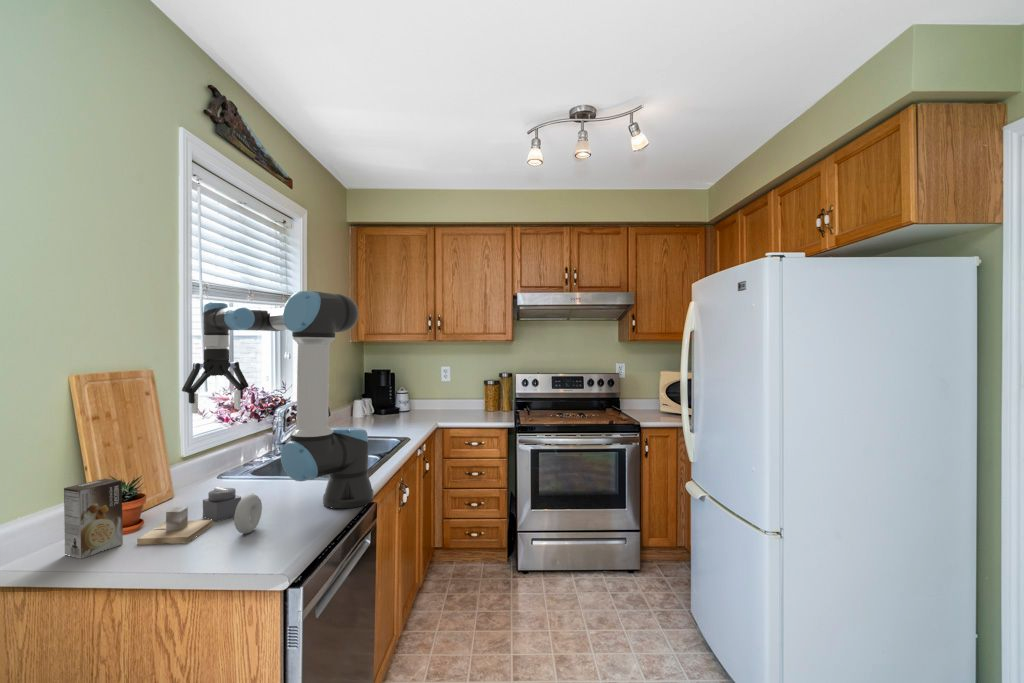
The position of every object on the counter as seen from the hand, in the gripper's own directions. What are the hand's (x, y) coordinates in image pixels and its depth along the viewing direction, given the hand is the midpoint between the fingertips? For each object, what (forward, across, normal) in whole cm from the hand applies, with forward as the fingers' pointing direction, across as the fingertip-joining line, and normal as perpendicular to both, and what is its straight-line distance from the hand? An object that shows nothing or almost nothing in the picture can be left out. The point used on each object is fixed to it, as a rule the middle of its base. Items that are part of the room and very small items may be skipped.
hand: (216, 410), depth 167 cm
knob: (+27, +11, +27) cm, 40 cm away
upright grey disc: (+27, +13, +46) cm, 55 cm away
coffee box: (+27, +40, +26) cm, 55 cm away
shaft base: (+27, +24, +32) cm, 48 cm away
